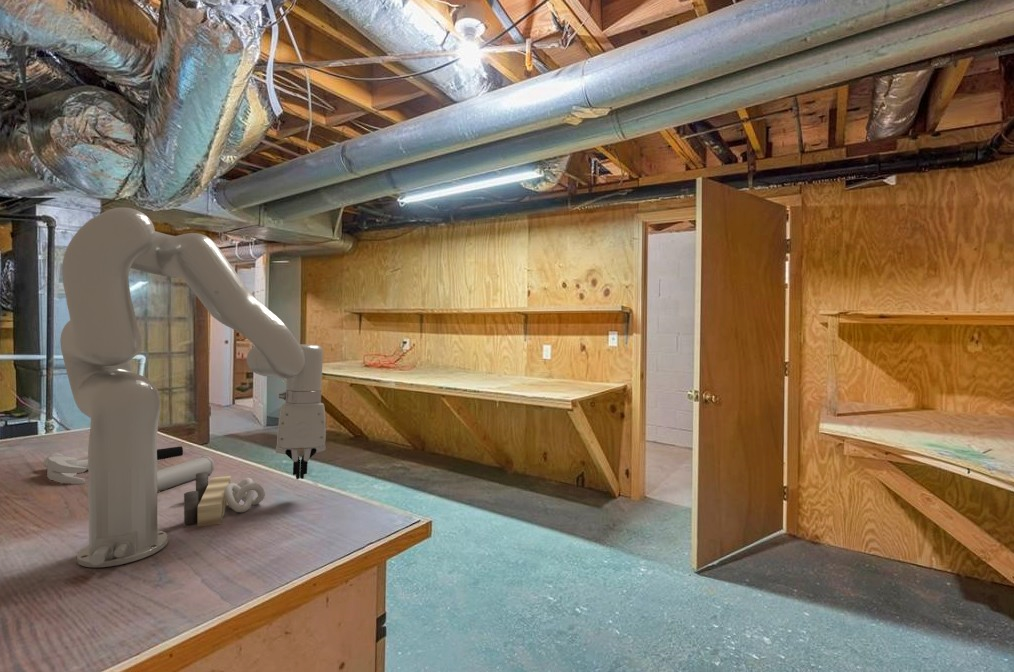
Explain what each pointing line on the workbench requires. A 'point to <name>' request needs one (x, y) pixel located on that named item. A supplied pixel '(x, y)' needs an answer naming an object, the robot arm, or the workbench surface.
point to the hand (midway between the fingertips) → (299, 477)
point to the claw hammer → (86, 465)
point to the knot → (243, 494)
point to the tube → (183, 472)
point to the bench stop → (206, 501)
